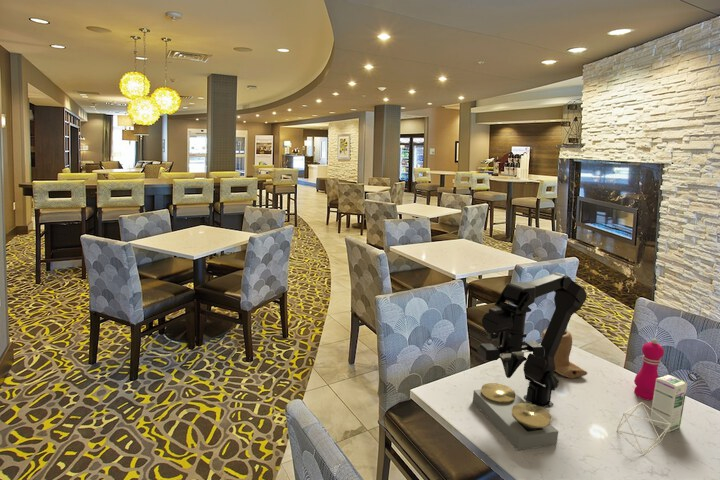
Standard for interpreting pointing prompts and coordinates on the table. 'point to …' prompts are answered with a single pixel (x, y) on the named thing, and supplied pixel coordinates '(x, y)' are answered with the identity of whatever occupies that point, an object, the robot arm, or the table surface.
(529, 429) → the knob
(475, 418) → the table surface
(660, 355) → the pepper mill
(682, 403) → the syrup box
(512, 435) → the panel
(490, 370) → the table surface
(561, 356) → the tan boot
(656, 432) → the geometric polyhedron
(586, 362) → the table surface
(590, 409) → the table surface
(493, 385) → the knob
